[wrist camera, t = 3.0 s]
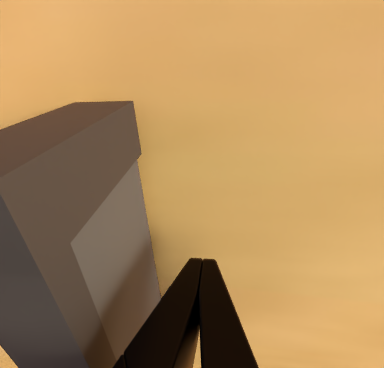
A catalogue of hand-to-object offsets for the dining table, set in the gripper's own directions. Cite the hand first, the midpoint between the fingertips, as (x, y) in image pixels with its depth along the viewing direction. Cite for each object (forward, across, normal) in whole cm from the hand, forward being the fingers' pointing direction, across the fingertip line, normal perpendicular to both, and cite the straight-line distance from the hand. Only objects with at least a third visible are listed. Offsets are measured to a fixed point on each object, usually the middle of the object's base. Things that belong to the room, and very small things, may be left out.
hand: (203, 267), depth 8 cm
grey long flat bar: (+2, +3, +4) cm, 6 cm away
